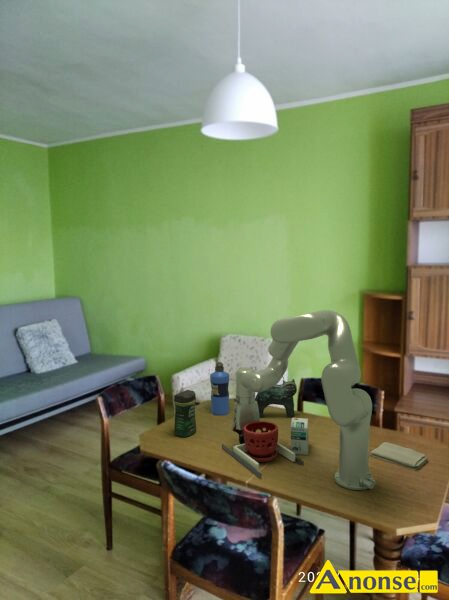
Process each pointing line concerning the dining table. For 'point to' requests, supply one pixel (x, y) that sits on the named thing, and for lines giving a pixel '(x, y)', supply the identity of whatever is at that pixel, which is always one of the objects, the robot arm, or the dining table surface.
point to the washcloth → (399, 455)
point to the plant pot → (261, 440)
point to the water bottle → (219, 391)
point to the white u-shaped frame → (240, 451)
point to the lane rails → (249, 465)
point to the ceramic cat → (278, 397)
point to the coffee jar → (185, 413)
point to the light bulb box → (299, 436)
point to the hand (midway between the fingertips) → (246, 443)
